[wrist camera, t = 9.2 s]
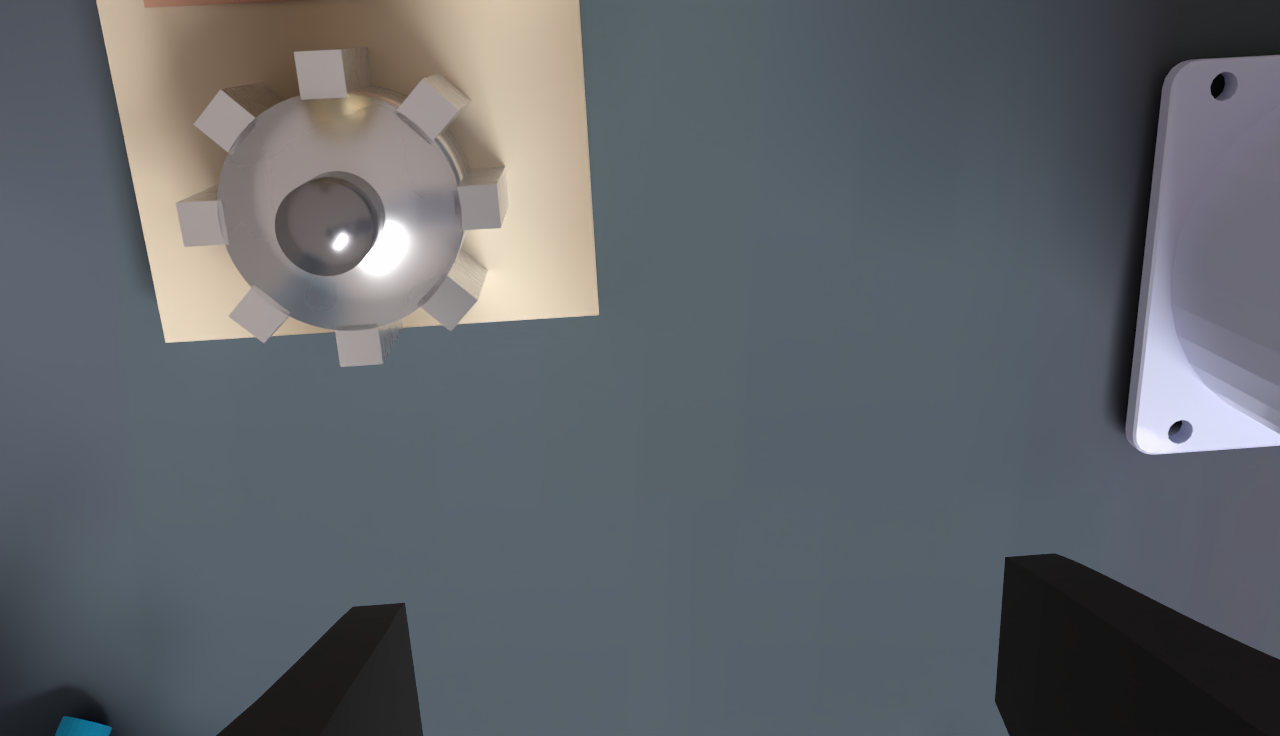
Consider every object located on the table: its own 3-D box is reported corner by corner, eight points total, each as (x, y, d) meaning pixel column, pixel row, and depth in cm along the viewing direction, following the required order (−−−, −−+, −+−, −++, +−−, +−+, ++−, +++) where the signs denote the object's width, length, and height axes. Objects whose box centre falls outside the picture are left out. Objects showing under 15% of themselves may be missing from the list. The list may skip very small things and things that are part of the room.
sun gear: (493, 40, 18) (477, 43, 14) (518, 320, 19) (509, 378, 16) (198, 55, 18) (114, 61, 14) (248, 337, 19) (182, 400, 16)
